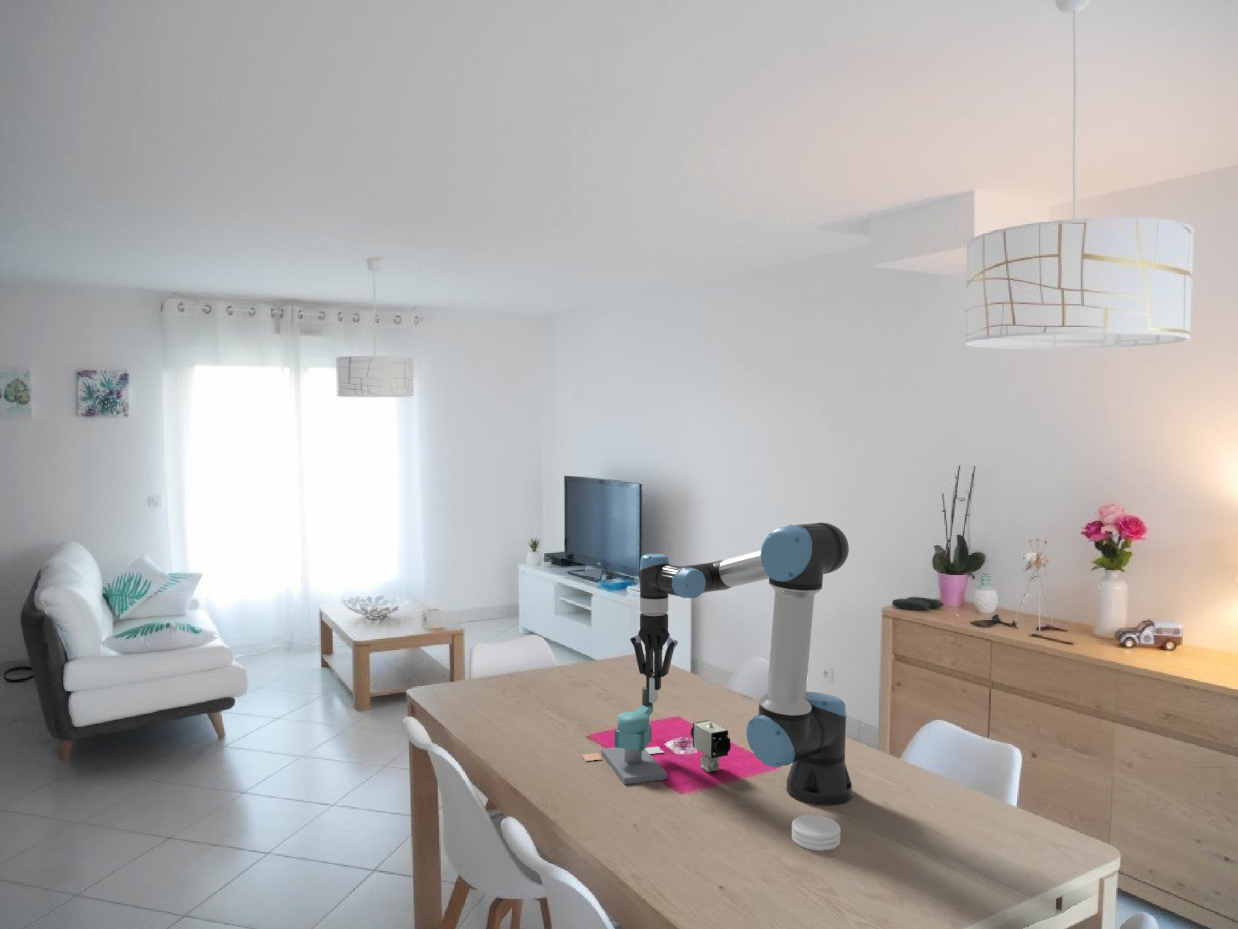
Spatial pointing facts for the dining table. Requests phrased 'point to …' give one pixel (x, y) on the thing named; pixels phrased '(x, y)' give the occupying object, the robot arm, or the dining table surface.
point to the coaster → (816, 832)
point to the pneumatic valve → (710, 743)
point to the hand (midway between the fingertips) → (653, 701)
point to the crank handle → (635, 726)
